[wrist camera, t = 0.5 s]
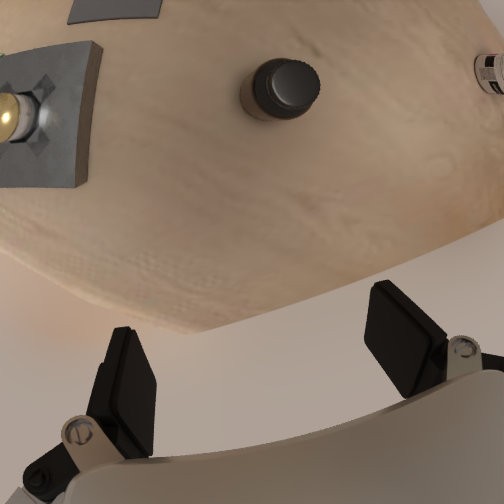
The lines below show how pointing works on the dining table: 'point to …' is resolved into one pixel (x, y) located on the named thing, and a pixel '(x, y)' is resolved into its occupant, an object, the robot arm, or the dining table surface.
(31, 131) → the can with gold end
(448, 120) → the dining table surface
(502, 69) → the supplement can
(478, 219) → the dining table surface
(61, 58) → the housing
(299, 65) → the supplement bottle
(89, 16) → the mat
